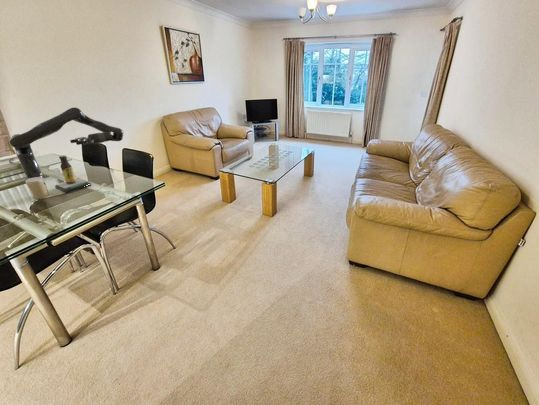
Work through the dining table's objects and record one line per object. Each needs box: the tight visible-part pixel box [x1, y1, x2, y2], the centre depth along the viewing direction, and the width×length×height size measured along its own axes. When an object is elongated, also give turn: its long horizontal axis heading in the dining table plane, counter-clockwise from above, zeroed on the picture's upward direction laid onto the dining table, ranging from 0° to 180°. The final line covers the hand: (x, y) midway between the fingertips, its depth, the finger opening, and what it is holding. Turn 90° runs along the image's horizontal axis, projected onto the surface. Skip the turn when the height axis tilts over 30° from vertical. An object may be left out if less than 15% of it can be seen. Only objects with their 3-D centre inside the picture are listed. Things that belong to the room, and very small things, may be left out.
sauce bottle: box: [58, 154, 76, 184], centre depth 177 cm, size 7×6×20 cm
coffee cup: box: [24, 176, 50, 199], centre depth 166 cm, size 9×9×12 cm
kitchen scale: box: [54, 177, 92, 194], centre depth 181 cm, size 16×16×3 cm
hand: (73, 142), depth 180 cm, fingers open, 8 cm apart
